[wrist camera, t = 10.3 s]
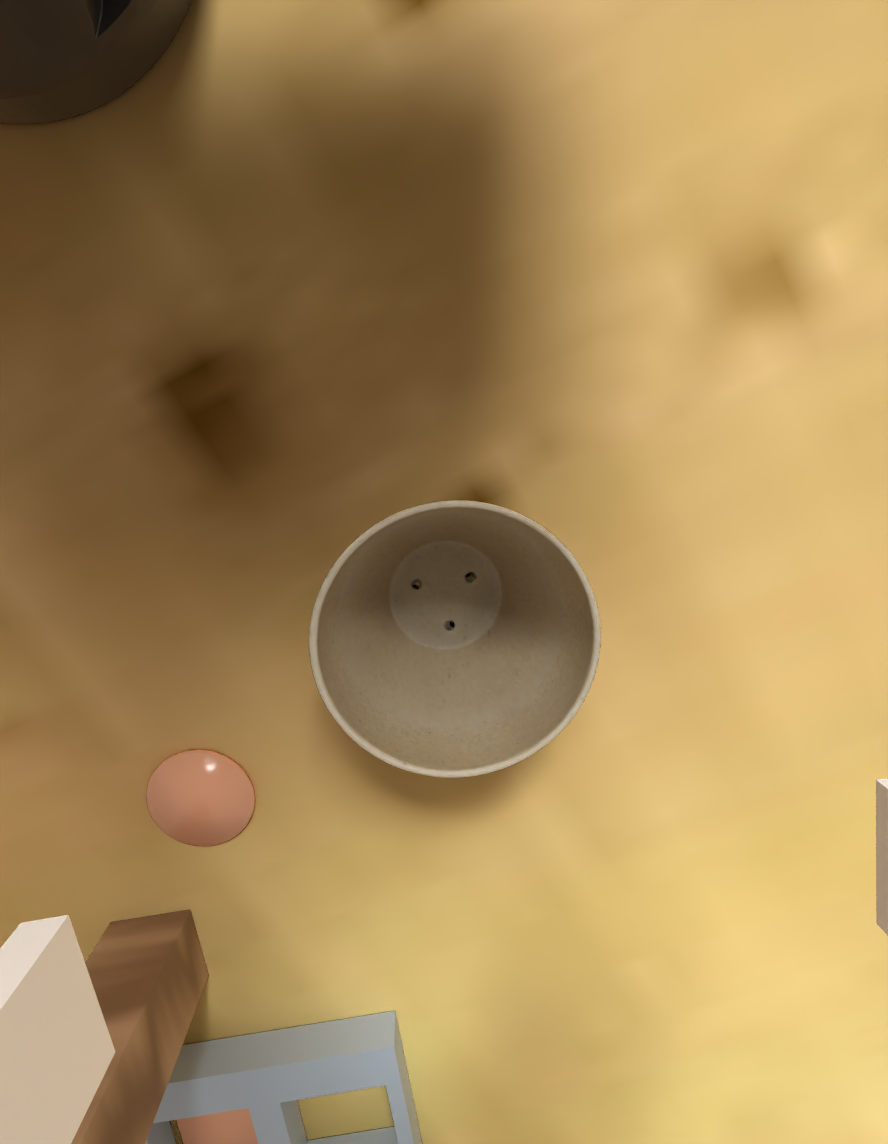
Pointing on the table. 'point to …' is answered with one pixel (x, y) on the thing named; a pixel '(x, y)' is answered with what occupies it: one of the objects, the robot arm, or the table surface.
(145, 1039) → the peg
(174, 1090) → the grey window frame
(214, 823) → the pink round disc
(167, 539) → the table surface
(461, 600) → the flower pot
